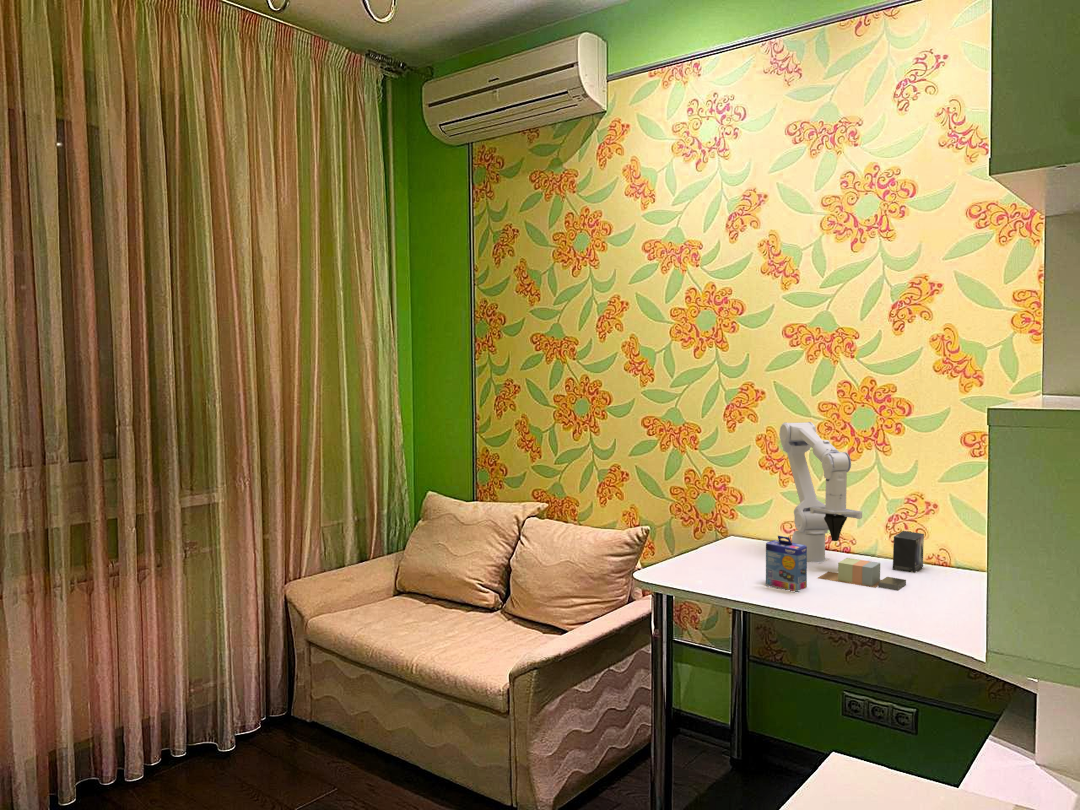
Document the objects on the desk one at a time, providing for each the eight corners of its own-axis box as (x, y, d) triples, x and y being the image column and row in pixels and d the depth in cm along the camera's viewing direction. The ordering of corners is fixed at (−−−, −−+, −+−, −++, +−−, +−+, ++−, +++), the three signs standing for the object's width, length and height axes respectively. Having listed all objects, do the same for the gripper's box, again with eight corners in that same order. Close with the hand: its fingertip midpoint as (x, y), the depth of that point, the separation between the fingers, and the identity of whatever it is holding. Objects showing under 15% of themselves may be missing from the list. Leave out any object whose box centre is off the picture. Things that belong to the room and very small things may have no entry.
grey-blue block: (862, 584, 227) (862, 566, 227) (870, 578, 232) (870, 561, 232) (871, 586, 225) (872, 567, 225) (880, 580, 231) (880, 562, 230)
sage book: (837, 580, 231) (838, 562, 231) (846, 575, 237) (847, 557, 236) (852, 582, 229) (852, 564, 228) (861, 577, 234) (861, 559, 234)
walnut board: (816, 580, 234) (817, 578, 234) (828, 573, 241) (828, 571, 240) (875, 589, 224) (875, 587, 223) (885, 582, 231) (885, 580, 230)
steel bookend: (878, 582, 224) (897, 585, 221) (887, 576, 229) (906, 579, 226) (878, 590, 224) (897, 594, 221) (887, 585, 229) (905, 588, 226)
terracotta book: (852, 582, 228) (852, 564, 228) (860, 577, 234) (861, 559, 234) (861, 584, 227) (862, 566, 227) (870, 578, 232) (870, 561, 232)
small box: (915, 575, 238) (916, 539, 237) (891, 571, 242) (892, 536, 241) (924, 567, 246) (925, 532, 246) (901, 564, 250) (901, 530, 250)
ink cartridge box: (764, 586, 228) (764, 534, 227) (774, 582, 232) (775, 531, 231) (797, 593, 221) (797, 539, 220) (807, 589, 225) (808, 536, 224)
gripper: (806, 493, 242) (805, 539, 243) (856, 498, 233) (856, 546, 234) (815, 490, 247) (814, 535, 248) (864, 495, 238) (864, 541, 239)
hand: (835, 540), depth 241 cm, fingers closed
